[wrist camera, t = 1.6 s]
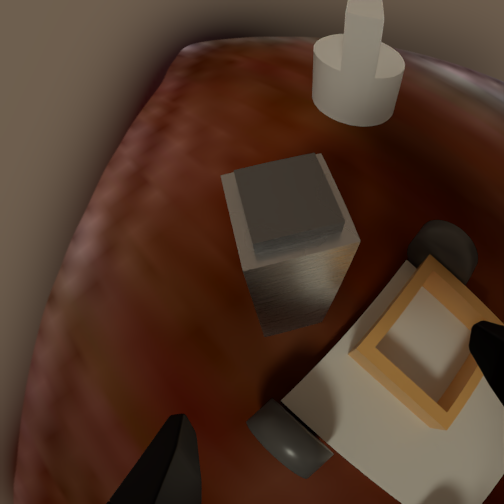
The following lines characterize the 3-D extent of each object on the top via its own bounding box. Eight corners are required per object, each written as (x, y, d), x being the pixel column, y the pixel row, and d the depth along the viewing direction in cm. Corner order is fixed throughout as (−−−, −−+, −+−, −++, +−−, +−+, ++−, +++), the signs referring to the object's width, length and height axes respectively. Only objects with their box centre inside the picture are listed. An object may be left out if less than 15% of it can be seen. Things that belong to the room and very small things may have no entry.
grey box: (322, 321, 21) (365, 231, 10) (264, 337, 21) (240, 262, 10) (305, 269, 23) (322, 141, 11) (251, 282, 23) (217, 163, 11)
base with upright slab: (318, 71, 33) (320, -19, 22) (393, 86, 31) (411, -2, 20) (304, 116, 30) (305, 7, 19) (393, 135, 28) (422, 31, 17)
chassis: (551, 381, 16) (589, 372, 11) (428, 556, 12) (455, 580, 7) (411, 241, 23) (435, 207, 18) (250, 417, 19) (241, 425, 14)
